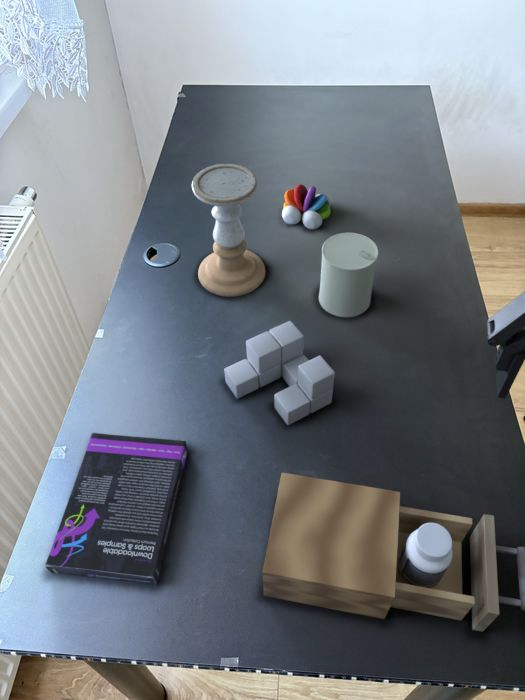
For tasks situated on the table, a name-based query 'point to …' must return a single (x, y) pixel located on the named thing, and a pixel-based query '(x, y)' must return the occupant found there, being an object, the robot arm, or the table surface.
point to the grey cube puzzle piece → (283, 372)
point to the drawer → (458, 571)
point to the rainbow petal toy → (305, 207)
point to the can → (347, 274)
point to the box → (120, 509)
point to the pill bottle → (426, 555)
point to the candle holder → (228, 231)
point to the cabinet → (333, 545)
